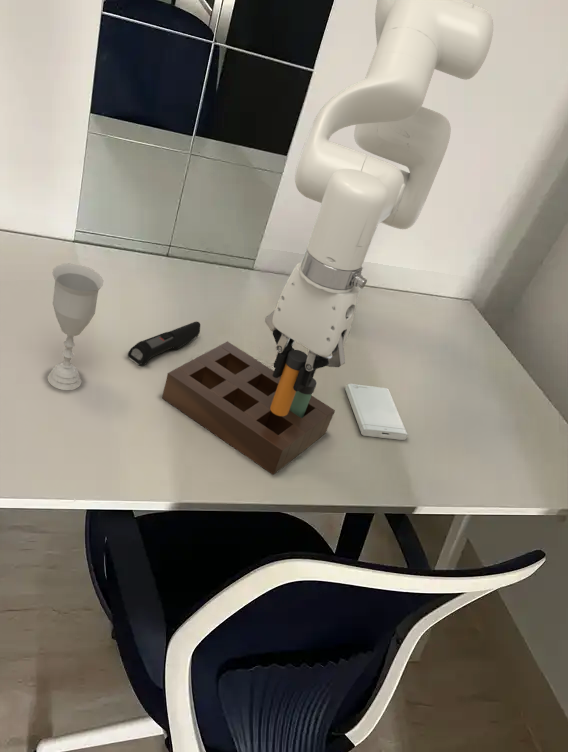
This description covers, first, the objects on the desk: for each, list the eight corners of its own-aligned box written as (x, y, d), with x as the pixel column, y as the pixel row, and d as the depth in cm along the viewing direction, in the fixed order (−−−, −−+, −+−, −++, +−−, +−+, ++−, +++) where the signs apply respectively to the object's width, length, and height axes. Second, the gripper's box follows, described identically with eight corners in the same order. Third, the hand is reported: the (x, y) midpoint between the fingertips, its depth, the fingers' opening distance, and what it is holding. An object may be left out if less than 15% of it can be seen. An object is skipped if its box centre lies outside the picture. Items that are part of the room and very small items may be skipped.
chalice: (97, 387, 122) (113, 285, 111) (60, 399, 118) (73, 295, 106) (68, 361, 125) (81, 259, 114) (31, 372, 121) (41, 268, 109)
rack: (220, 365, 136) (227, 341, 133) (325, 433, 130) (335, 410, 126) (161, 398, 125) (167, 372, 122) (273, 475, 118) (282, 450, 115)
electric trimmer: (203, 341, 140) (207, 326, 138) (141, 368, 129) (145, 352, 127) (187, 331, 141) (191, 315, 139) (125, 356, 130) (128, 340, 128)
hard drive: (347, 382, 140) (364, 428, 131) (389, 388, 142) (409, 433, 133) (344, 390, 141) (361, 435, 132) (386, 395, 143) (405, 440, 134)
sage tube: (286, 421, 129) (304, 372, 123) (301, 431, 128) (320, 382, 122) (276, 428, 127) (294, 379, 121) (291, 438, 126) (310, 389, 120)
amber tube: (276, 401, 120) (295, 347, 113) (292, 411, 119) (312, 357, 112) (265, 408, 117) (284, 353, 111) (281, 419, 117) (301, 364, 110)
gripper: (395, 291, 103) (348, 400, 115) (294, 233, 108) (259, 344, 120) (368, 307, 98) (322, 420, 110) (264, 245, 103) (230, 360, 114)
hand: (290, 379), depth 114 cm, fingers closed on amber tube, 3 cm apart
